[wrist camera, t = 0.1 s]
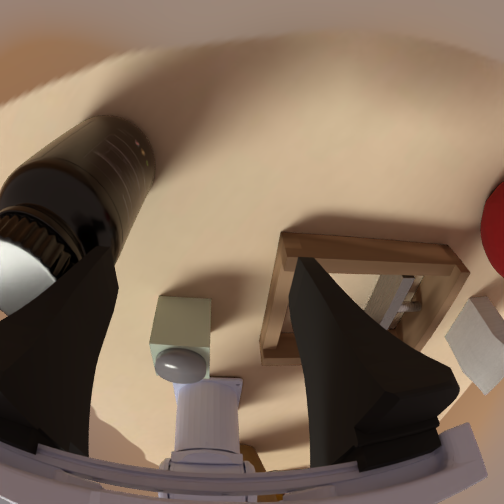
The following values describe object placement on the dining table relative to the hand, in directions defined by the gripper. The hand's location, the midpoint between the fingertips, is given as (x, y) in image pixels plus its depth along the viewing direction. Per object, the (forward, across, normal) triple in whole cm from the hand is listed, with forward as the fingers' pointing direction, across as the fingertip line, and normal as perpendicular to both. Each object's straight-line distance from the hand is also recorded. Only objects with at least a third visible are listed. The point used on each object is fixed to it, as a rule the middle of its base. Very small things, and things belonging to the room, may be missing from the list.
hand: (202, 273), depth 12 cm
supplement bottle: (+10, +7, -1) cm, 12 cm away
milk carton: (+10, -31, +14) cm, 36 cm away
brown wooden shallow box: (+10, -13, +10) cm, 20 cm away
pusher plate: (+10, -17, +10) cm, 23 cm away
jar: (+10, +2, +13) cm, 17 cm away
